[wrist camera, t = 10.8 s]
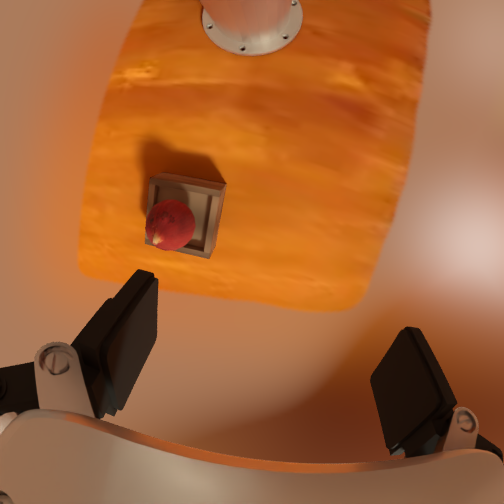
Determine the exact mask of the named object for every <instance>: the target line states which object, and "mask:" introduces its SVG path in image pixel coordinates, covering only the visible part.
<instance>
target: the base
mask: <svg viewBox="0 0 504 504" xmlns="http://www.w3.org/2000/svg"><path fill="white" fill-rule="evenodd" d="M225 190H226V184H224V183H219V182H214V181H209V180H204V179H198V178H193V177H188V176H182V175H176V174H170V173H164V172H162V173H160V174H157V175H155V176H153V177H150V182H149V192H148V203H147V216H148V214H149V212H150V210H151V209H152V207H153V206H154V205H156V204H158V203H160V202H161V201H163V200H167V199H170V200H178V201H180V202H182V203H184V204H186V205H187V206H188V207H189V208H190V209H191V211H192V213H193V215H194V217H195V225H196V227H195V230H194V234H193V236H192V239H191V240H190V241H189V242H188V243H187V244H186V245H185V246H183V247H181V248H179V249H177V250H173V251H177V252H181V253H186V254H190V255H194V256H198V257H203V258H207V259H209V258H210V256H211V254H212V252H213V250H214V248H215V246H216V240H217V234H218V228H219V223H220V217H221V211H222V206H223V200H224V195H225ZM147 216H146V218H147ZM145 244H148V245H152V246H155V245H153V244H152V243H151V242H150V240H149V239H148V237H147V234H146V232H145Z"/></svg>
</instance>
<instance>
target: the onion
mask: <svg viewBox="0 0 504 504" xmlns="http://www.w3.org/2000/svg"><path fill="white" fill-rule="evenodd" d="M195 227H196V225H195V217H194V215H193V213H192V211H191V209H190V208H189V207H188V206H187V205H186V204H184V203H182V202H180V201H178V200H170V199H167V200H163V201H161V202H160V203H158V204H156V205H154V206H153V207H152V209H151V210H150V212H149V214H148V216H147V218H146V227H145V229H146V234H147V237H148V239H149V240H150V242H151V243H152V244H153V245H155V246H156V247H157V248H159V249H162V250H177V249H179V248H181V247H183V246H185V245H186V244H187V243H188V242H189V241H190V240H191V239H192V236H193V234H194V230H195Z"/></svg>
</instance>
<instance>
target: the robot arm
mask: <svg viewBox="0 0 504 504" xmlns="http://www.w3.org/2000/svg"><path fill="white" fill-rule="evenodd" d="M199 1H200V2H201V4H202V5H203V7H204V9H203V14H202V24H203V27H204V30H205V32H206V34H207V35H208V37H209V38H210V39H211V40H212V42H214V43H215V44H216V45H217V46H218V47H220V48H222V49H224V50H225V51H228V52H230V53H233V54H237V55H243V56H258V55H265V54H269V53H272V52H275V51H277V50H279V49H281V48H283V47H284V46H286V45H287V44H289V43H290V42H291V41H292V40H293V39H294V38H295V37H296V35H297V33H298V32H299V30H300V27H301V24H302V19H303V12H302V8H301V4H300V2H299V1H298V0H199ZM292 5H295V6H292ZM210 27H213V28H211V29H209V28H210ZM284 37H287V39H284ZM243 48H244V49H245V50H244V51H241V49H243ZM157 305H158V279H157V278H154V274H153V273H151V272H148V271H144V270H140V269H138V270H137V271H136V272H135V273H134V274H133V275H132V276H131V278H130V279H129V280H128V281H127V282H126V283H125V285H124V286H123V287H122V288H121V290H120V291H119V292H118V293H117V294H116V295H115V297H114V298H113V299H112V298H109V299H108V300H106V301H105V302H104V304H103V305H102V306H101V307H100V308H99V310H98V311H97V312H96V313H95V315H94V316H93V317H92V318H91V320H90V321H89V322H88V323H87V324H86V326H85V327H84V328H83V329H82V331H81V332H80V333H79V335H78V336H77V337H76V338H75V340H74V341H73V342H72V344H71V345H68V344H67V343H63V342H51V343H48V344H46V345H44V346H42V347H41V348H40V349H39V350H38V351H37V353H36V355H35V360H34V362H30V363H25V364H20V365H15V366H9V367H3V368H0V504H504V464H503V454H502V451H501V450H500V449H499V448H498V447H496V446H495V445H494V444H492V443H491V442H489V441H488V440H486V439H485V438H484V437H482V436H481V435H479V434H478V420H477V418H476V416H475V415H474V414H473V412H471V411H470V410H469V409H467V408H464V407H460V408H458V409H456V410H455V411H454V412H453V409H452V408H453V407H454V406H455V405H456V404H457V401H456V399H455V396H454V394H453V392H452V390H451V388H450V386H449V383H448V381H447V379H446V377H445V375H444V373H443V371H442V369H441V367H440V365H439V363H438V361H437V360H436V357H435V356H434V354H433V352H432V350H431V348H430V346H429V344H428V343H427V341H426V339H425V337H424V335H423V334H422V332H421V330H420V329H419V328H414V327H405V328H404V329H403V330H401V331H400V332H399V334H398V335H397V337H396V339H395V340H394V342H393V344H392V345H391V347H390V348H389V350H388V351H387V353H386V354H385V356H384V357H383V359H382V360H381V362H380V363H379V365H378V366H377V368H376V369H375V371H374V372H373V374H372V375H371V379H370V383H371V386H372V390H373V394H374V398H375V401H376V405H377V409H378V413H379V417H380V421H381V426H382V430H383V434H384V439H385V443H386V447H387V448H388V449H389V451H390V455H399V454H402V453H403V452H405V457H404V459H397V460H389V461H378V462H366V463H346V464H309V463H290V462H277V461H267V460H258V459H251V458H243V457H237V456H231V455H225V454H220V453H214V452H210V451H205V450H200V449H196V448H192V447H188V446H184V445H180V444H176V443H172V442H169V441H165V440H161V439H158V438H155V437H151V436H148V435H145V434H141V433H139V432H136V431H133V430H130V429H127V428H124V427H120V426H118V425H114V424H112V423H109V422H106V421H103V420H100V419H101V418H103V417H104V415H105V413H107V414H110V415H112V416H115V414H116V412H117V409H118V410H122V409H123V408H124V406H125V403H126V401H127V399H128V397H129V395H130V393H131V390H132V389H133V386H134V384H135V382H136V380H137V378H138V376H139V374H140V372H141V370H142V368H143V366H144V364H145V362H146V360H147V358H148V355H149V354H150V351H151V349H152V347H153V345H154V344H155V341H156V338H157Z"/></svg>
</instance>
